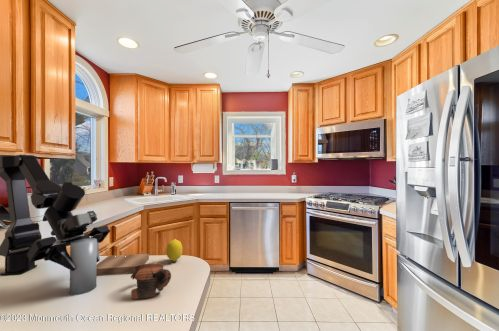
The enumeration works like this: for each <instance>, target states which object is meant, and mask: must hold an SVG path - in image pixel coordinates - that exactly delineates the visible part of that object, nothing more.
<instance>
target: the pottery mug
mask: <svg viewBox="0 0 499 331" xmlns="http://www.w3.org/2000/svg"><path fill="white" fill-rule="evenodd" d="M164 266H165V265H164V264H163V263H160V262H153V263H151V262H150V263H145V264H143V265H139V266H136V267H135V269H136V270H135V272H134V273H131V276H130V279H132V280H136V288H133V289H132V290H131V291H130V293H131V299H132V300H136V299H149V298H150V299H151V298H155V297H156V291H158V292H161V291H163V290H164V288H165V287H167V286H168V284H169V283H170V282H171V279H172V273H171V271H170V270H169V269H166V268H164Z"/></svg>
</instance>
